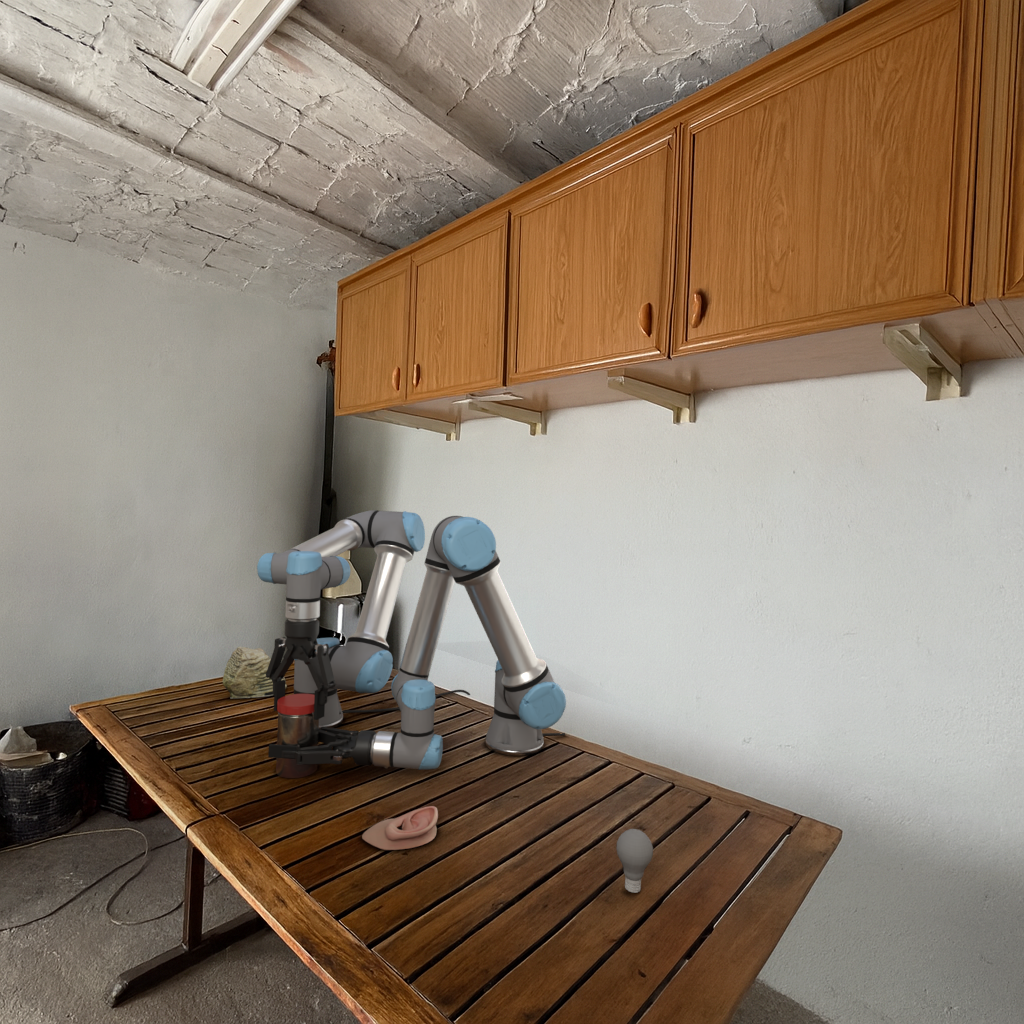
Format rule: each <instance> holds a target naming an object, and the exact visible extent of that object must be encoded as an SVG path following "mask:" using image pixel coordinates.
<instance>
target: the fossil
mask: <svg viewBox="0 0 1024 1024" xmlns="http://www.w3.org/2000/svg"><path fill="white" fill-rule="evenodd" d="M270 660H271V657H270V656H269V655H268V654H267V653H266V652H265V650H264V649H263V648H260V647H258V648H251V647H247V646H246V647H245V646H238V647H237V648H236V649H235V650H233V651H232V653H231V656H230V657H229V659H228V660H227V663H226V666H225V668H224V671H223V675H222V676H223V677H222V685H223V687H224V688H225V690H226V691H228V693H229V698H230V699H250V698H264V697H271V696H274V695H273V681H272V679H270V678H267V677H266V672H267V669H268V666H269V663H270ZM283 678H284V679H281V681H282V680H286V677H285V676H284V677H283ZM287 687H288V686H287V684H286V685H285V691H286V689H287Z"/></svg>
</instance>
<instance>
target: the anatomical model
mask: <svg viewBox="0 0 1024 1024" xmlns="http://www.w3.org/2000/svg"><path fill="white" fill-rule="evenodd" d="M438 818H439V811H438V808H437V807H436V806H434V805H428V806H424V807H421V808H418V809H414V810H412V811H409V812H407V813H405V814H402V815H400V816H398V817H394V818H388V819H384V820H381V821H380V822H377V823H375V824H373V825H372V826H371V827H369V828H368V829H367V830H365V831H364V832H363V833H362V835H361V839H362V840H363V841H364V842H366V843H367V844H369V845H371V846H373V847H375V848H378V849H380V850H383V851H397V850H405V849H412V848H417V847H420V846H423V845H426V844H428V843H430V842H432V841H433V840H434V839H435V838H436V836H437V832H438V829H437V828H438V827H437V823H438Z"/></svg>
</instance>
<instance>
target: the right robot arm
mask: <svg viewBox="0 0 1024 1024" xmlns="http://www.w3.org/2000/svg"><path fill="white" fill-rule="evenodd" d="M501 562H502V561H501V560H500V557H499V555H498V552H497V540H496V537H495V534H494V532H493V531H492V529H491V528H490V527H489V526H488V525H487V524H486V523H484V522H483V521H482V520H480V519H478V518H475V517H471V516H461V515H450V516H447V517H445V518H442V520H440V521H439V522H438V523H437V524H436V526H435V527H434V528H433V531H432V533H431V536H430V540H429V543H428V548H427V552H426V556H425V560H424V566H425V568H426V570H425V571H426V572H425V575H424V579H423V582H422V586H421V590H420V593H419V596H418V599H417V604H416V608H415V611H414V615H413V618H412V621H411V626H410V628H409V632H408V636H407V639H406V642H405V643H406V644H405V647H404V651H403V655H402V658H401V662H400V665H399V669H398V672H397V674H396V675H395V676H394V677H393V679H392V680H391V685H390V687H391V694H392V697H393V699H394V700H395V702H396V704H397V707H399V708H400V710H399V711H400V732H397V731H387V730H386V731H385V730H379V731H377V732H376V731H375V730H366V729H365V730H360V731H359V730H348V729H341V728H337V727H335V728H330V727H321V729H319V730H318V743H321V745H318V746H312V747H303V748H300V745H297V746H294V745H278V744H277V743H269V744H268V755H267V757H268V758H271V759H272V758H273V759H277V758H287V759H296V764H317V765H324V764H325V765H326V764H332V765H342V764H343V760H344V759H351V758H352V759H353V761H354V764H355V765H356V766H364V767H366V766H367V767H371V766H372V765H374V767H383V768H384V769H388V768H402V769H412V770H419V771H420V770H437V768H439V767H440V765H441V763H442V759H443V750H444V739H443V736H442V735H440V734H436V733H435V729H434V727H435V726H434V725H435V709H436V699H437V697H435V695H436V686H435V684H434V683H433V682H432V681H429V677H430V672H431V669H432V665H433V662H434V658H435V655H436V650H437V647H438V645H439V640H440V637H441V633H442V630H443V625H444V623H445V619H446V615H447V611H448V609H449V604H450V601H451V597H452V593H453V590H454V587H455V584H457V585H459V586H463V587H464V589H465V591H466V593H467V595H468V598H469V600H470V602H471V604H472V606H473V608H474V610H475V613H476V615H477V618H478V619H479V621H480V624H481V625H482V628H483V630H484V632H485V634H486V636H487V639H488V641H489V643H490V645H491V647H492V649H493V652H494V654H495V657H496V658H497V660H496V662H495V669H494V696H493V699H494V700H493V715H492V718H491V721H490V724H489V726H488V729H487V731H486V735H485V746H486V748H487V749H489V751H492V752H493V753H496V754H499V755H505V756H513V757H514V756H515V757H519V756H521V757H522V756H529V755H534V754H537V753H539V752H540V751H542V750H543V749H544V741H545V740H544V737H565V736H566V733H565V732H543V731H542V730H546V729H548V728H551V727H552V726H554V725H555V724H556V723H558V722H559V721H560V719H562V717H563V715H564V712H565V710H566V708H567V697H566V694H565V691H564V690H563V688H562V687H561V685H559V683H557V682H556V681H555V680H554V677H553V676H552V673H551V671H550V669H549V667H548V665H547V662H546V661H545V660H544V659H542V658H539V657H537V655H536V653H535V651H534V648H533V646H532V644H531V642H530V640H529V638H528V635H527V633H526V631H525V629H524V626H523V625H522V622H521V620H520V617H519V615H518V613H517V611H516V609H515V606H514V604H513V602H512V599H511V597H510V596H509V595H510V594H509V593H508V591H507V589H506V586H505V584H504V582H503V580H502V577H501V575H500V573H499V569H500V566H501ZM560 733H562V734H560Z"/></svg>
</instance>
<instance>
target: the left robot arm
mask: <svg viewBox="0 0 1024 1024" xmlns="http://www.w3.org/2000/svg"><path fill="white" fill-rule="evenodd" d="M425 541H426V529H425V524H424V521H423V519H422V517H421V515H419V514H418V513H416V512H411V511H406V510H403V511H392V510H379V509H378V510H377V509H372V510H371V509H370V510H366V511H361V512H359V513H355V514H352V515H350V516H347V517H345V518H343V519H340V520H339V521H338V522H337V523H336V524H335V525H334V527H333V528H330V529H328V530H326V531H324V532H322V533H320V534H318V535H316V536H314V537H311V538H310V539H308V540H306V541H303V542H302V543H300V544H298V545H296V546H294V547H291V548H289V549H288V550H285V551H283V552H280V553H279V552H278V553H277V552H266V553H264V554H262V555H261V557H259V560H258V562H257V565H256V570H257V576H258V578H259V579H260V581H262V582H264V583H268V584H269V583H270V584H273V585H276V584H277V585H286V596H285V615H284V616H285V618H286V619H285V621H284V636H282V637H278V638H275V639H274V647H273V652H272V653H271V657H270V658H271V660H270V663H269V666H268V669H267V672H266V677H267V678H270V679H272V681H273V695H272V696H273V711H274V712H278V711H277V701H278V699H280V698H281V697H284V696H286V690H285V685H287V680H286V679H285V680H282V681H281V679H284V678H283V677H285V675H286V674H287V672H288V671H289V669H290V668H291V666H292V664H293V662H294V672H293V694H313V695H315V697H314V720H318V719H319V729H321V727H330V728H337V727H339V726H340V725H342V723H343V722H344V714H362V713H363V714H365V713H381V712H382V713H383V712H392V711H401V710H400V708H399V706H397V707H388V708H377V709H376V708H375V709H374V708H373V709H346V710H343V709H342V706H341V702H340V699H339V695H338V690H341V691H349V692H354V693H359V694H376V693H378V692H380V691H381V690H382V689H383V688H384V687H385V685H386V684H387V683H388V681H389V679H390V677H391V675H392V671H393V668H394V667H393V666H394V664H393V662H394V659H393V654H392V653H391V652H390V651H389V649H390V645H389V644H388V642H387V636H388V632H389V628H390V625H391V621H392V617H393V614H394V611H395V606H396V602H397V598H398V594H399V590H400V587H401V582H402V579H403V576H404V572H405V569H406V564H407V563H409V562H410V561H412V560H413V558H414V554H415V553H419V552H420V551H422V549H423V548H424V545H425V543H426V542H425ZM361 548H363V549H364V548H365V549H366V548H367V549H373V551H374V553H375V554H376V560H375V563H374V567H373V570H372V573H371V577H370V581H369V584H368V588H367V591H366V594H365V597H364V601H363V605H362V607H361V611H360V615H359V618H358V622H357V625H356V629H355V632H354V633H353V634H351V635H350V636H348V637H347V640H346V643H345V645H340V644H341V643H340V642H341V641H340V639H339V638H337V637H320V638H319V637H318V636H319V634H320V620H319V618H320V616H321V590H327V589H331V588H337V587H339V586H342V585H344V584H346V582H348V581H349V579H350V577H351V566H350V563H349V562H348V560H347V559H346V558H344V557H342V556H340V555H341V554H343V553H344V552H346V551H348V552H349V551H350V552H351V551H355V550H357V549H361ZM286 649H287V650H286ZM455 693H464V694H466V695H467V696H471V693H470V692H469V691H467V690H464V689H455V690H449V691H446V692H441V693H437V694H435V697H436V698H439V697H441V696H446V695H451V694H455Z"/></svg>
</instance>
